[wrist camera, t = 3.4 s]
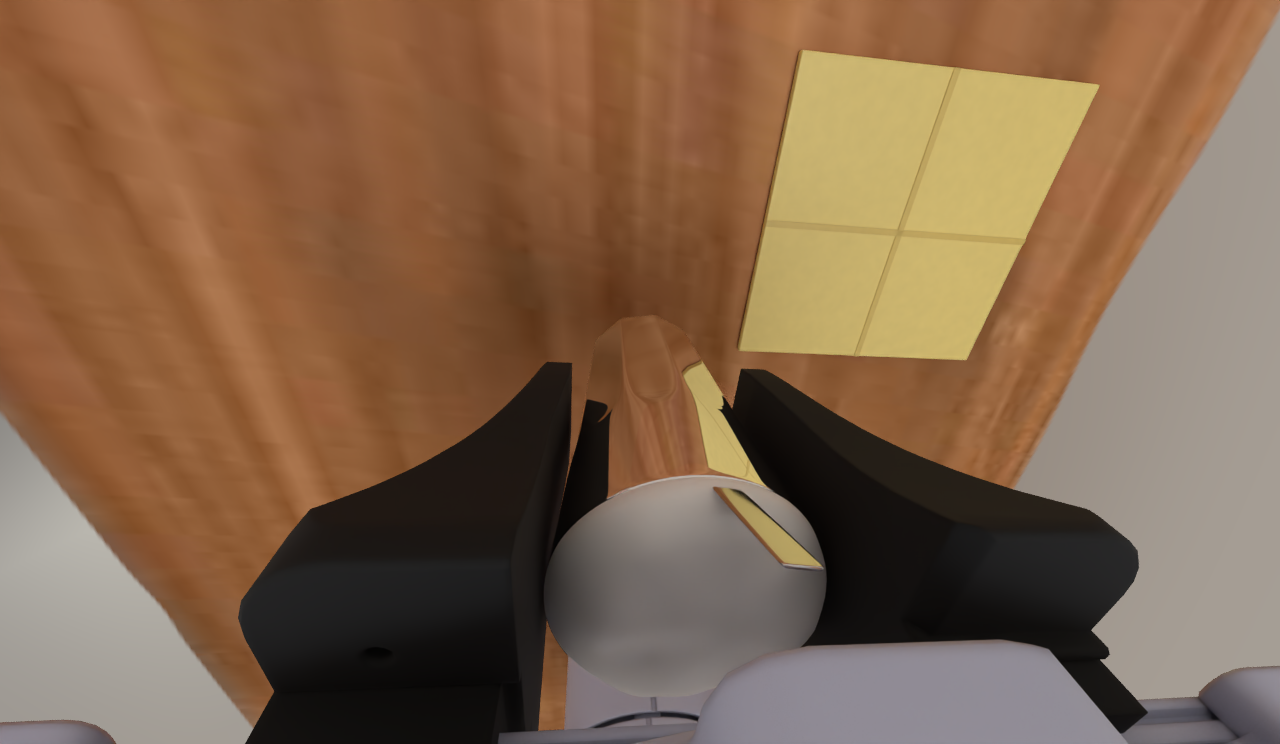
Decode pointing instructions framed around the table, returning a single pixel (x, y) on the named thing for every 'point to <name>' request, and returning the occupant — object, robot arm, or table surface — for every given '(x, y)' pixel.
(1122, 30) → the table surface
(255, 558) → the table surface
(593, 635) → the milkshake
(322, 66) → the table surface
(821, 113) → the napkin
